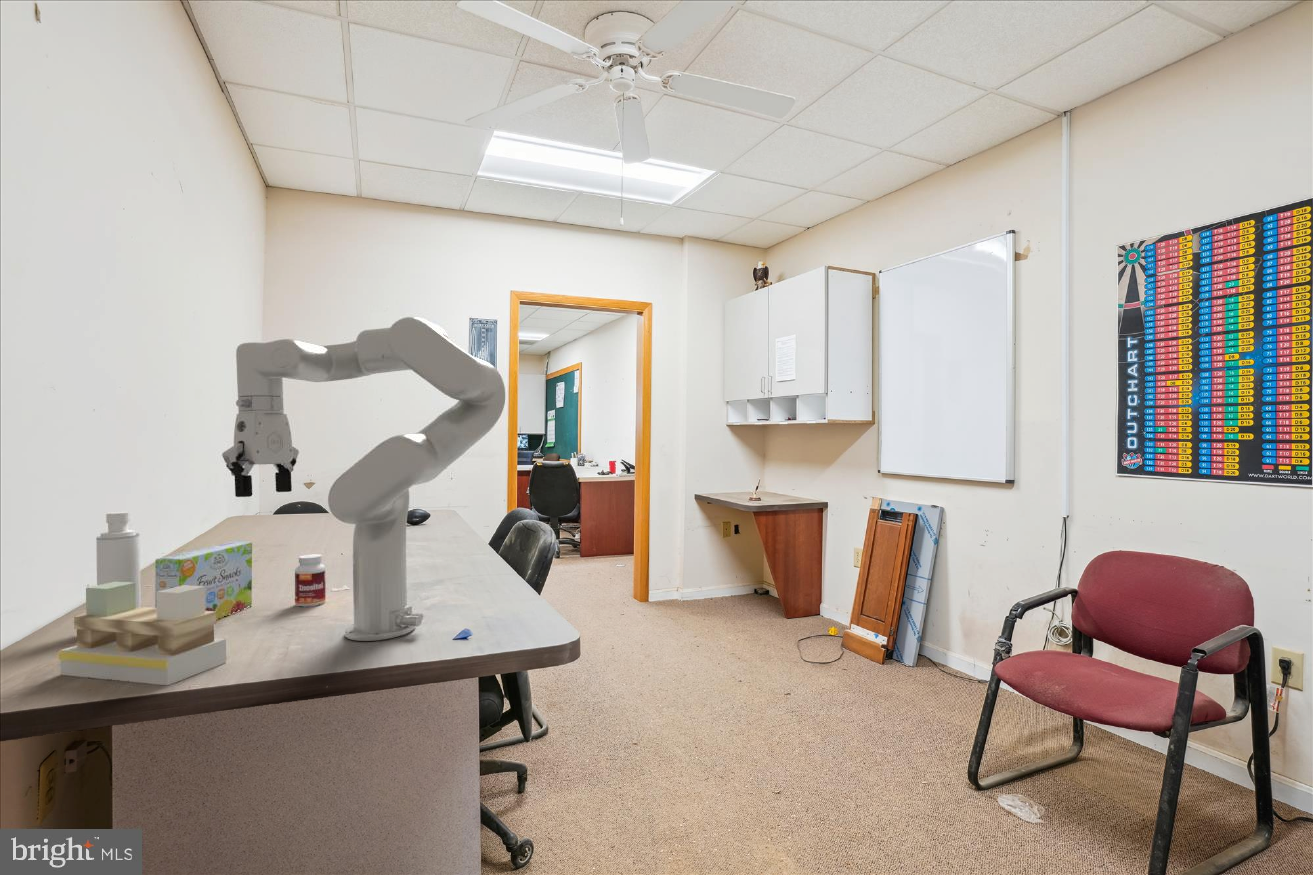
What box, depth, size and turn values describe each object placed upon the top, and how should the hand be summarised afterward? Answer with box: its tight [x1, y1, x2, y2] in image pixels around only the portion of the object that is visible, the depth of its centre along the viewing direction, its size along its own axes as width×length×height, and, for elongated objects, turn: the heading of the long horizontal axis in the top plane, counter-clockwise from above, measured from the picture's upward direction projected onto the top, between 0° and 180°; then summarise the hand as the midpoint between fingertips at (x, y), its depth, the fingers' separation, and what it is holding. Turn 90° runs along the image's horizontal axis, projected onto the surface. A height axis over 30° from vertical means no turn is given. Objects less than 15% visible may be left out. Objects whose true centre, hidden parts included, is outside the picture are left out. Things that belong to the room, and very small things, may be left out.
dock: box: [57, 637, 227, 686], centre depth 104 cm, size 22×10×4 cm, turn 76°
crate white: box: [156, 585, 205, 621], centre depth 103 cm, size 4×4×4 cm
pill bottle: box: [294, 553, 327, 608], centre depth 144 cm, size 6×6×11 cm
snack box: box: [154, 541, 253, 621], centre depth 132 cm, size 21×6×15 cm, turn 179°
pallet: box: [73, 606, 217, 655], centre depth 104 cm, size 21×7×5 cm, turn 76°
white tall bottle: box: [95, 511, 142, 607], centre depth 128 cm, size 7×7×25 cm
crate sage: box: [85, 582, 136, 616], centre depth 106 cm, size 4×4×4 cm
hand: (264, 494), depth 123 cm, fingers open, 9 cm apart
